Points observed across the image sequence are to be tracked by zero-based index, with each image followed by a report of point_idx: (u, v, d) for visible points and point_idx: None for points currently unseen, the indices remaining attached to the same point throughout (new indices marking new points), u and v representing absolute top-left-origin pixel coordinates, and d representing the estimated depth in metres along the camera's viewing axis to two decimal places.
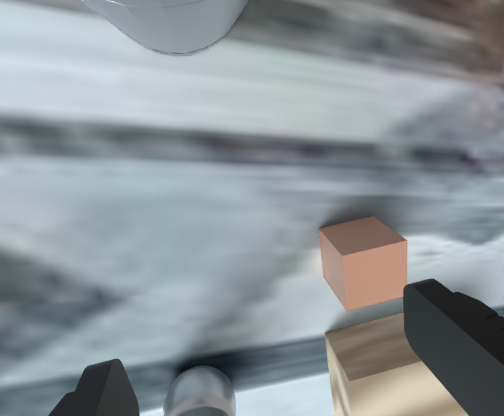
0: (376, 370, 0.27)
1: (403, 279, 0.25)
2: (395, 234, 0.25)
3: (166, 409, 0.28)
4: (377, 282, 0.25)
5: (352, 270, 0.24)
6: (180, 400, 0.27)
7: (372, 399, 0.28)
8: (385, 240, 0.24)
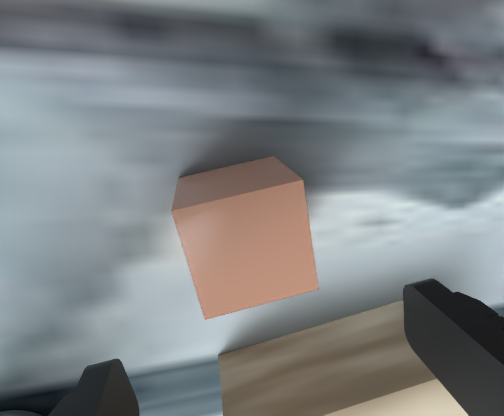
0: None
1: (307, 258, 0.13)
2: (289, 173, 0.13)
3: None
4: (256, 265, 0.13)
5: (200, 240, 0.12)
6: None
7: None
8: (265, 183, 0.13)
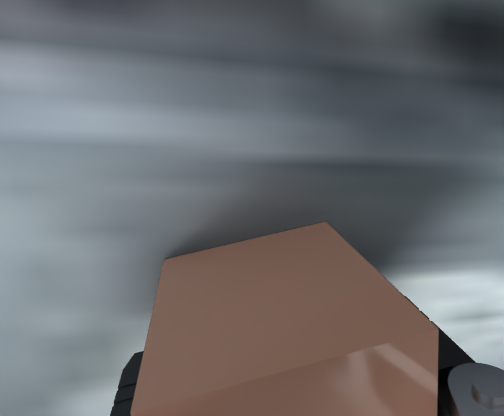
0: None
1: None
2: (388, 293, 0.06)
3: None
4: None
5: None
6: None
7: None
8: (345, 323, 0.06)
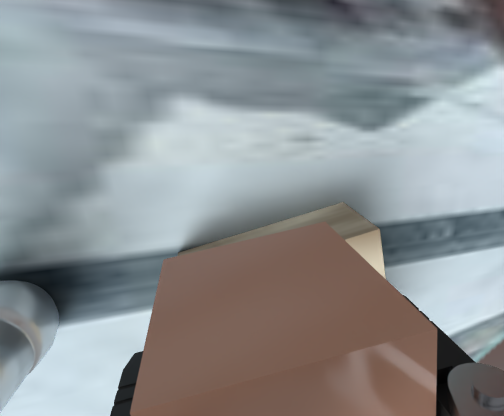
0: None
1: None
2: (386, 292, 0.06)
3: None
4: None
5: None
6: None
7: None
8: (344, 323, 0.06)
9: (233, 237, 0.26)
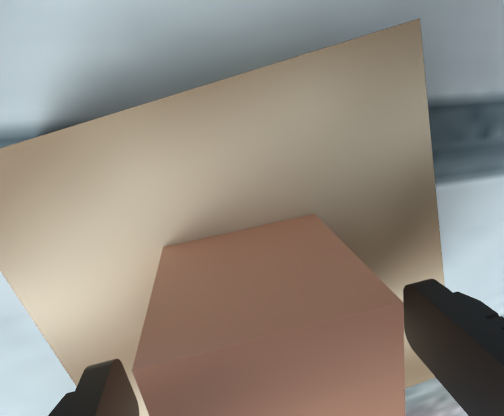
0: (34, 138, 0.09)
1: None
2: (363, 274, 0.07)
3: None
4: None
5: None
6: None
7: (57, 241, 0.10)
8: (322, 299, 0.06)
9: None
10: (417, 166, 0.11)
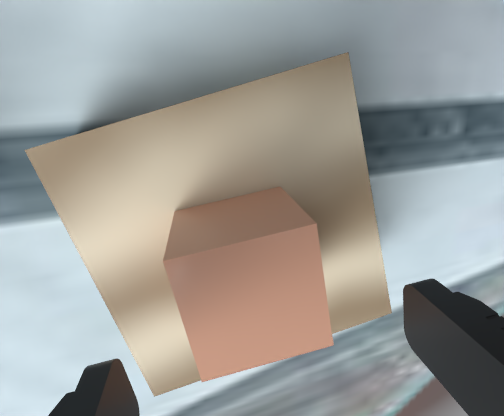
0: (89, 130, 0.14)
1: (321, 311, 0.12)
2: (299, 213, 0.12)
3: None
4: (262, 320, 0.11)
5: (197, 293, 0.11)
6: None
7: (101, 201, 0.14)
8: (273, 226, 0.11)
9: None
10: (353, 153, 0.15)
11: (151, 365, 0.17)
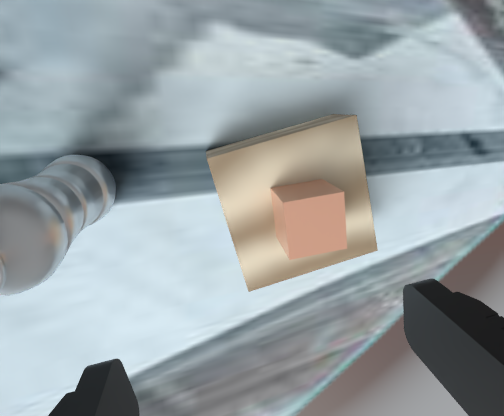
0: (234, 150, 0.29)
1: (343, 231, 0.27)
2: (335, 188, 0.27)
3: None
4: (318, 232, 0.26)
5: (293, 218, 0.26)
6: (51, 165, 0.28)
7: (236, 183, 0.29)
8: (325, 192, 0.26)
9: (248, 139, 0.34)
10: (358, 162, 0.31)
11: (249, 273, 0.32)
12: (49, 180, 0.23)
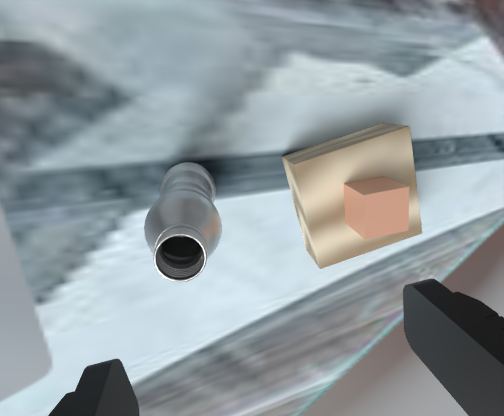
0: (314, 157, 0.37)
1: (406, 217, 0.35)
2: (400, 184, 0.35)
3: (162, 182, 0.37)
4: (387, 218, 0.34)
5: (370, 207, 0.34)
6: (172, 171, 0.36)
7: (315, 183, 0.37)
8: (393, 187, 0.34)
9: (315, 145, 0.41)
10: (409, 163, 0.38)
11: (321, 253, 0.40)
12: (194, 185, 0.31)
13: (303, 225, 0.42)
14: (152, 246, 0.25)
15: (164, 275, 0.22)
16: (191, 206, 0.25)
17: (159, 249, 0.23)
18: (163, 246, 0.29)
